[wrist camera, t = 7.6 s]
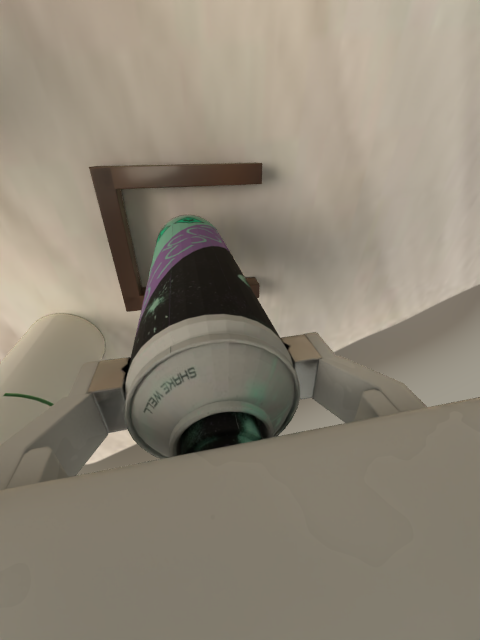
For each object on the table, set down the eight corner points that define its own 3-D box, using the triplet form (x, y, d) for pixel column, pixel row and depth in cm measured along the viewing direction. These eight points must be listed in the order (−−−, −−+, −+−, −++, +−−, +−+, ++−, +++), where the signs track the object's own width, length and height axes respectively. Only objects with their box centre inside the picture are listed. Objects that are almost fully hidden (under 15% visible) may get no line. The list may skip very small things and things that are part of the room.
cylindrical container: (15, 317, 26) (-651, 982, 5) (95, 310, 27) (-173, 823, 6) (42, 374, 30) (-279, 897, 9) (112, 365, 31) (-23, 807, 10)
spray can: (227, 219, 23) (382, 406, 6) (217, 281, 25) (305, 536, 8) (157, 208, 21) (89, 415, 4) (155, 275, 24) (106, 570, 7)
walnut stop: (256, 162, 24) (262, 163, 22) (254, 289, 30) (259, 297, 28) (95, 166, 22) (88, 167, 20) (129, 302, 28) (126, 311, 26)
